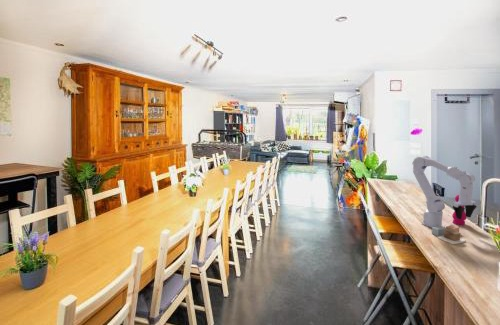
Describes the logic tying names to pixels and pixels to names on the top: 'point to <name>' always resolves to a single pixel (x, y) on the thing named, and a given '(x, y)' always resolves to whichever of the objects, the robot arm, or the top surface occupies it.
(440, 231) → the slate block
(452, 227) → the terracotta block
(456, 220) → the pepper mill
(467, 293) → the top surface
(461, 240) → the grey tile
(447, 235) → the walnut block
